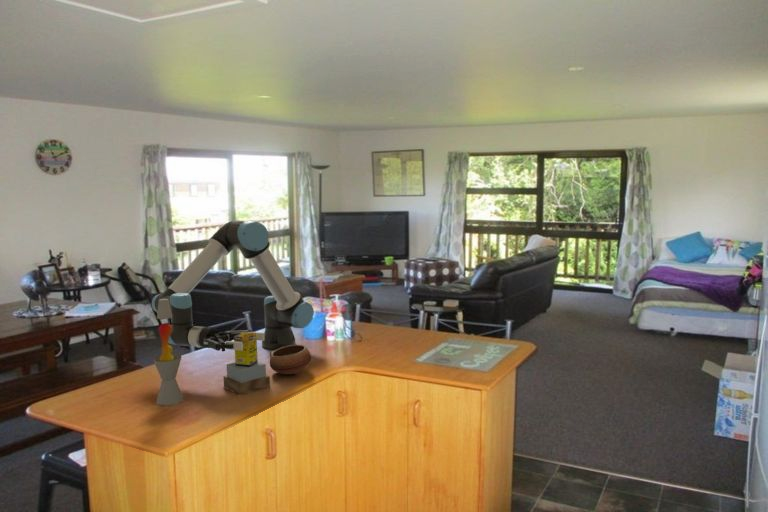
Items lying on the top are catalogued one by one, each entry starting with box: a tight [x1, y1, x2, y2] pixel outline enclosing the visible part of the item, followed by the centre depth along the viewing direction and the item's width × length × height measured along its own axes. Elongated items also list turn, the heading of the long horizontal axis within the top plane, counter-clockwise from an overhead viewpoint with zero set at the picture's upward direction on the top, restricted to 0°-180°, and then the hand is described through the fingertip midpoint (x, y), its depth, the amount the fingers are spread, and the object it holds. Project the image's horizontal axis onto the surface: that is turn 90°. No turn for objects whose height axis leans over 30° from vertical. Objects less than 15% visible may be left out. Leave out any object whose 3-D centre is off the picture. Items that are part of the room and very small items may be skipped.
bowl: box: [269, 344, 312, 376], centre depth 227 cm, size 16×16×10 cm
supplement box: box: [233, 332, 259, 367], centre depth 210 cm, size 6×6×11 cm
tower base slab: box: [222, 374, 271, 396], centre depth 212 cm, size 12×12×4 cm
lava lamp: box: [152, 299, 184, 406], centre depth 198 cm, size 9×9×35 cm
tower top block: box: [226, 360, 267, 383], centre depth 211 cm, size 10×10×4 cm
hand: (253, 341), depth 209 cm, fingers open, 13 cm apart
